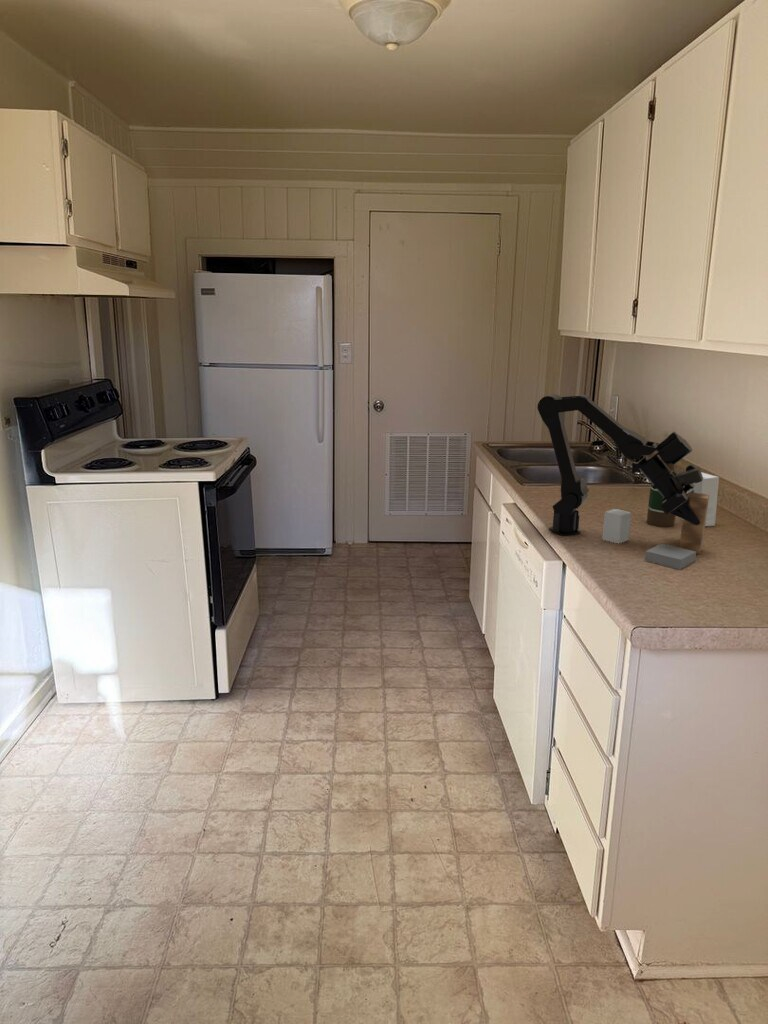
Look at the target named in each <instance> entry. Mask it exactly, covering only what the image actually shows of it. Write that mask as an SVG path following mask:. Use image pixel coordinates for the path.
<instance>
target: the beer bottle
mask: <svg viewBox="0 0 768 1024" xmlns="http://www.w3.org/2000/svg"><path fill="white" fill-rule="evenodd" d="M660 459H661V458H660ZM661 460H662V459H661ZM662 461H663V460H662ZM663 462H664V461H663ZM664 464H665V465H666V466H667V467H668V469H670V471H672V470H673V471H675V464H674V465H673V464H671V463H670V464H666V463H665V462H664ZM652 486H653V485H652V483H651V482H650V487H649V497H648V506H647V513H646V515H647V516H646V522H647V523H648V524H649V525H650V526H654V527H658V528H665V527H666V528H670V527H673V526H674V524H675V522H676V517H677V516H676V515H673V514H670V513H668V514H665V513H664V512H663V511H662V509H661V506H662V503H663V502H664V500H663V496H662V495H661V494H660V493H659V492H658V490H657V489H655V490H654V489H653V488H652Z"/></svg>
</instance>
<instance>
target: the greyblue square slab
mask: <svg viewBox="0 0 768 1024" xmlns="http://www.w3.org/2000/svg"><path fill="white" fill-rule="evenodd" d="M696 557H697V554H696V551H692V550H687V549H683V548H679V546H674V545H671V544H670V545H669V544H664V543H660V544H658V545H655V546H653V547H651V548H649V549H647V550H645V554H644V561H645V560H646V561H645V562H647V561H650V562H649V563H651V562H654V563H653V564H655V563H657V564H656V565H659V564H660V565H659V566H664V567H667V566H668V567H667V568H671V569H675V570H682V569H685V567H688V566H689V565H691V564H693V563H695V562H696Z"/></svg>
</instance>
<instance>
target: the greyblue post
mask: <svg viewBox="0 0 768 1024" xmlns="http://www.w3.org/2000/svg"><path fill="white" fill-rule="evenodd" d="M603 517H604V520H603V529H602V538H601V540H602V539H603V540H602V541H605V540H606V541H605V542H609V541H610V543H613V542H614V543H613V544H616V543H618V544H617V545H620V544H622V542H623V543H625V541H626V542H628V541H629V539H630V530H631V518H632V512H631V511H626V510H621V509H618V508H613V509H610V510H606V511H604V516H603ZM619 543H620V544H619Z"/></svg>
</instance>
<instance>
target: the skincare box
mask: <svg viewBox="0 0 768 1024" xmlns="http://www.w3.org/2000/svg"><path fill="white" fill-rule="evenodd" d="M701 473H702V476H703V479H702V481H701V482H699V483H692V484H693V485H694V488H693V489H690V490H688V492H691V491H693V490H694V493H701V494H709V501H708V508H707V515H706V522H705V527H715V526H716V517H717V507H718V506H717V505H718V504H717V503H718V494H719V493H718V492H719V481H720V476H716V475H713V474H710V473H706V472H703V471H701ZM681 521H683V519H682V518H681Z"/></svg>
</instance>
